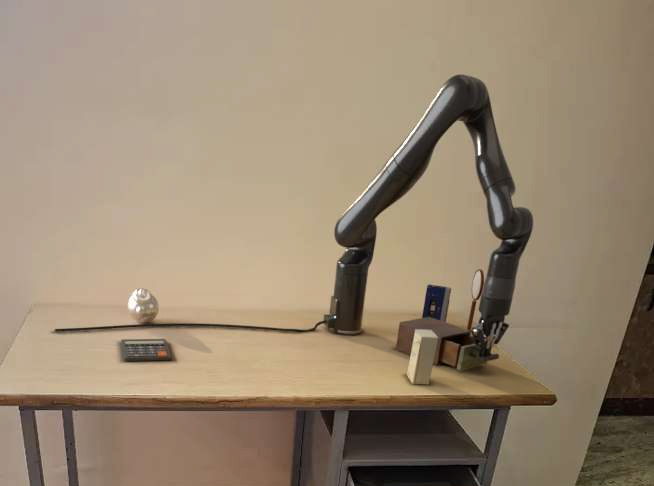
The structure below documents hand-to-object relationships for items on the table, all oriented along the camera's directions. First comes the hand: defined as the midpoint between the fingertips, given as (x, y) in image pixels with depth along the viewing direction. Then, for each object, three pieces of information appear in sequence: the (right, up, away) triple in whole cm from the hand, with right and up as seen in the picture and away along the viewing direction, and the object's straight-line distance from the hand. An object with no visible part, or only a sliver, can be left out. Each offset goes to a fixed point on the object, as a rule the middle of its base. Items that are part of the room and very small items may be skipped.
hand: (483, 361), depth 182 cm
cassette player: (-4, +19, +39) cm, 44 cm away
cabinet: (-11, +5, +13) cm, 18 cm away
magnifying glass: (+4, +13, +29) cm, 32 cm away
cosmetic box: (-18, -6, -6) cm, 20 cm away
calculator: (-88, +2, 0) cm, 88 cm away
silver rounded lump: (-93, +15, +22) cm, 97 cm away
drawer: (-5, +1, +6) cm, 7 cm away
